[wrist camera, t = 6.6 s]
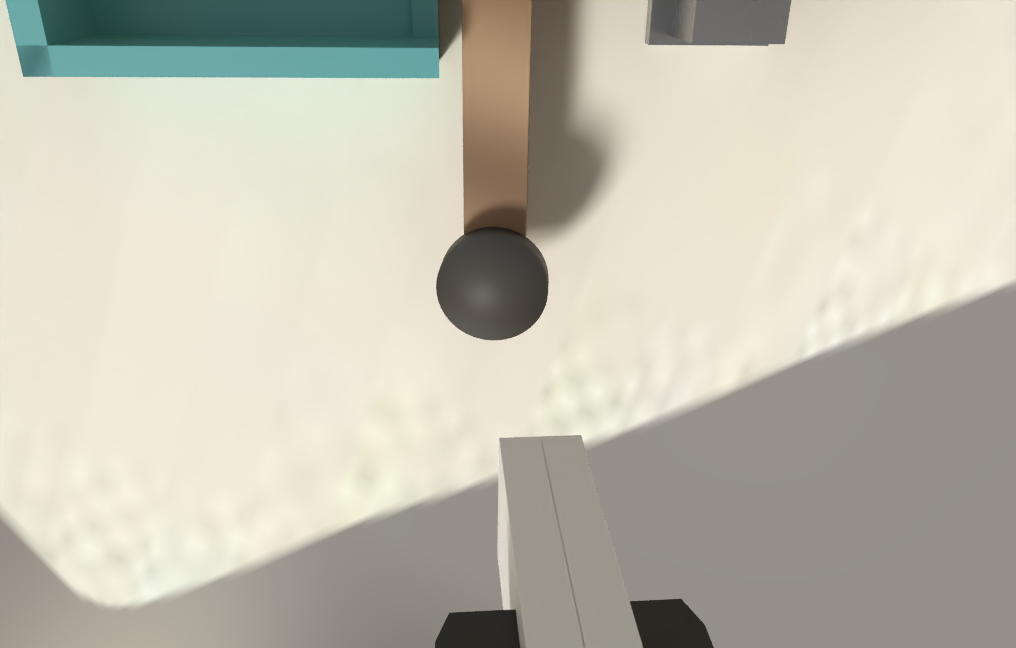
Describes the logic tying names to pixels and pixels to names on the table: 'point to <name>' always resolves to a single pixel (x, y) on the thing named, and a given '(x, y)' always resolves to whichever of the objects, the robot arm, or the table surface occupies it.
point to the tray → (227, 38)
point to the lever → (494, 180)
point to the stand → (717, 22)
